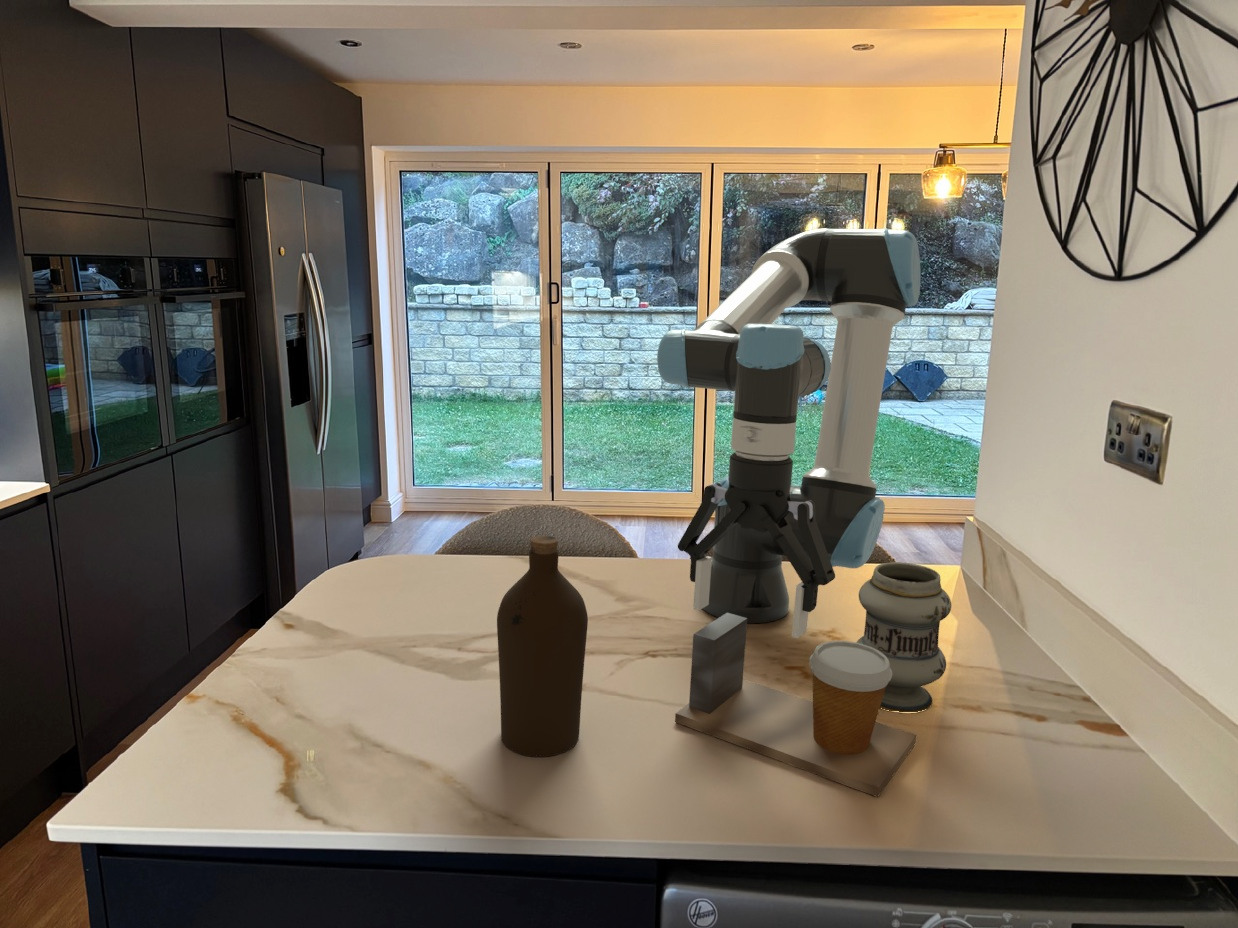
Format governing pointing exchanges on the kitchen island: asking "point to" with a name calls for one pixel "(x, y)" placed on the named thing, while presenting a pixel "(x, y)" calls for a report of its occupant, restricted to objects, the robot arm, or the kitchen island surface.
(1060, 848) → the kitchen island surface
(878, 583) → the apothecary jar
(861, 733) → the disposable coffee cup
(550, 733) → the olive oil
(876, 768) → the walnut board
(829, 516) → the robot arm
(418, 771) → the kitchen island surface
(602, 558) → the kitchen island surface
